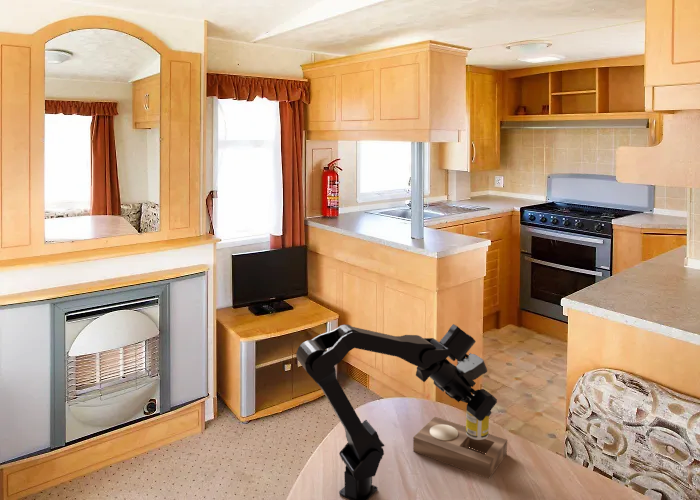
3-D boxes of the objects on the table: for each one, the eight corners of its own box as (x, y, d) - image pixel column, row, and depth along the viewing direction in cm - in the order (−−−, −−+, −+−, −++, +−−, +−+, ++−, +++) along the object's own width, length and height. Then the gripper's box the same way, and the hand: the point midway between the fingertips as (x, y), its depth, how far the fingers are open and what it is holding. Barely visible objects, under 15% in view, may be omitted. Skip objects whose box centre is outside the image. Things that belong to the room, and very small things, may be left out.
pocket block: (488, 479, 124) (489, 462, 123) (413, 451, 136) (413, 435, 135) (506, 454, 134) (507, 438, 133) (434, 429, 145) (434, 415, 144)
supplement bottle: (486, 429, 133) (488, 393, 131) (489, 441, 128) (491, 403, 126) (464, 428, 134) (465, 392, 132) (466, 440, 128) (468, 402, 126)
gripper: (492, 363, 116) (529, 400, 122) (445, 334, 133) (480, 368, 139) (460, 403, 115) (499, 438, 121) (417, 369, 132) (453, 401, 138)
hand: (482, 408), depth 130 cm, fingers closed on supplement bottle, 5 cm apart
